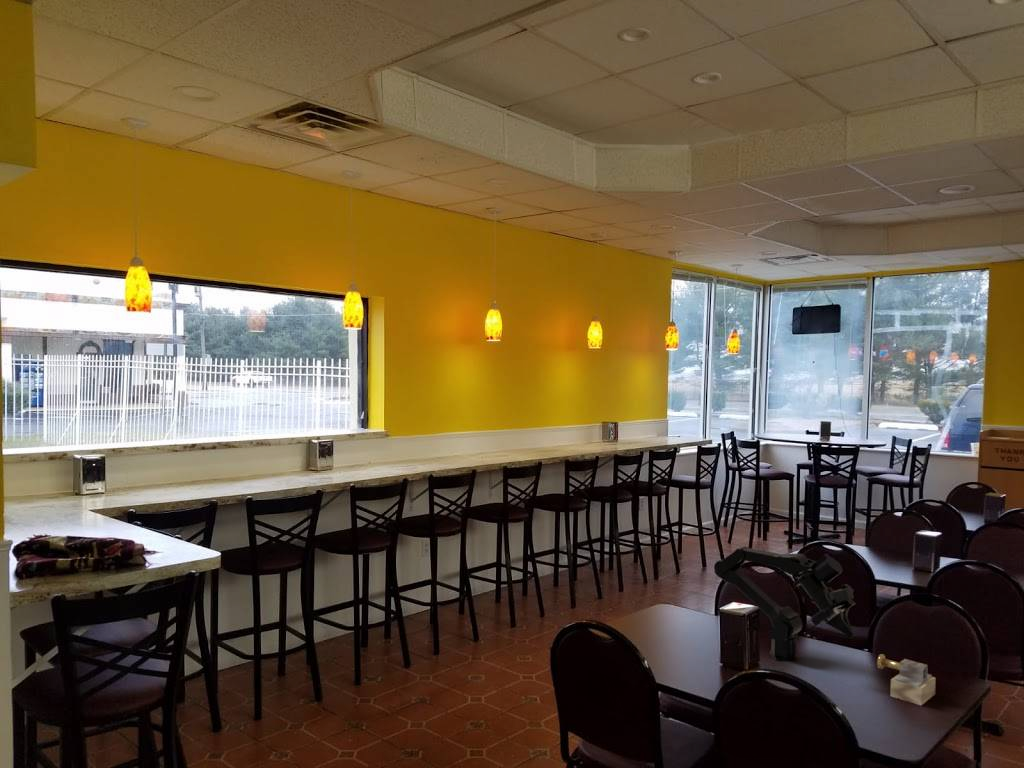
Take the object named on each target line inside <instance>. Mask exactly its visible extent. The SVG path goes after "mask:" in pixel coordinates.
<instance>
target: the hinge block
mask: <svg viewBox="0 0 1024 768" xmlns="http://www.w3.org/2000/svg"><path fill="white" fill-rule="evenodd" d="M899 663H900V670H899V673H898V674H897V675H895V676H894V677H892V678H891V679H890V697H892V698H894V699H898V698H899V700H902V701H905V702H908V703H911V704H915V705H918V706H923V705H924V704H925V703H926V702H927V701H928V700H930V699H932V697H933V696H935V695H936V677H934V676H932V674H930V673H928V666H929V665H928V664H926V663H921V662H918V661H914V660H911V659H906V658H904V659H903V660H901V661H900V662H899Z"/></svg>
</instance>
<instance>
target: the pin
mask: <svg viewBox="0 0 1024 768" xmlns="http://www.w3.org/2000/svg"><path fill="white" fill-rule="evenodd" d="M876 660H877V661H876V665H877V668H878V669H881V670H883V669H884V668H885V667H886V668H891V669H894V670H897V671H900V662H898V661H894V660H891V659H887V658H886V656H885V654H883V653H880V654H878V656H877V659H876Z"/></svg>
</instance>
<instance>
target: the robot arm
mask: <svg viewBox="0 0 1024 768" xmlns="http://www.w3.org/2000/svg"><path fill="white" fill-rule="evenodd" d="M745 562H750V563H754V564H759V565H764V566H769V567H774V568H777V569H779V570H780V571H781V572H783V573H785V574H788V575H791V576H795V577H794V578H793V580H794V581H793V587H794V588H796V587H799V586H802V588H803V590H804V591H805V592H806V594H807V595H808V596H809V598H810V599H809V602H810V603H811V604H813V603H814V604H815V606H817V608H818V609H819V611H817V612H816V613H815V614H813V615H812V616H811V620H810V621H811V623H812V624H813V625H814V626H815V627H818V626H819V625H821V623H823V622H824V621H825V620H827V621H826V622H825V625H829V626H830V627H832V628H834V629H836V630H837V631H839V632H841V633H843V634H845V635H846V636H848V637H850V638H853V637H854V636H855V633H854V630H853V628H852V624H851V623H850V620H849V618H848V615H849V614H848V613H849V610H850V608H851V607H853V606H854V605H856V602H855V600H853V599H854V598H855V595H854V594H853V593H854V591H855V589H853V588H852V586H850V585H849V584H848V583H845V584H842V585H840V588H839V589H836V590H834V589H833V588H832V587H830V586H829V587H827V586H826V585H825V583H830V582H831V581H832V580H834V579H836V577H837V576H839V575H840V574H842V573H843V567H842V565H841V563H840V562H839V561H837V560H836V559H835V558H833V557H831V556H830V555H829V554H828V553H826V554H823V555H822V556H821V557H819V559H818V560H817V561H815V560H812V559H811V558H807V556H806V555H805V554H802V553H776V552H772V551H767V550H762V549H756V548H751V547H748V546H741V547H738V548H736V549H735V550H734V551H732V553H730V554H729V555H727V556H726V557H725V558H722V559H721V560H717V561H716V562H715V563H714V566H713V568H714V574H715V576H717V577H718V578H720V579H721V580H722V581H724V582H725V583H728V584H731V585H733V586H735V587H736V588H737V589H738V590H739V591H740V592H741V593H742V594H744V595H745V596H746V597H747V598H748V599H749V600H751V602H752V603H754V605H756V607H757V608H759V609H760V610H761V611H762V612H763V613H764V614H765V615H767V617H768V619H769V620H770V623H771V625H772V627H773V628H771V629H770V630H768V632H767V634H768V636H769V639H770V640H771V644H770V645H771V646H770V647H771V649H770V650H769V654H770V655H771V656H772V657H773V658H774V659H775V660H776V661H797V658H796V655H797V643H796V642H795V641H796V640H795V638H794V637H796V636H797V635H798V633H799V632H801V630H802V629H803V621H802V619H801V617H800V616H799V615H800V614H799V613H797V612H796V611H794V609H793V608H792V607H791V606H789V605H788V606H785V607H782V606H780V605H779V604H778V603H777V602H775V601H774V600H773V599H772V597H770V596H769V595H768V594H767V593H765V592H764V591H763V590H762V588H760V587H759V586H757V584H756V583H754V582H753V581H752V580H751V579H750V578H749V576H747V575H746V573H745V572H744V569H743V567H742V566H743V565H744V564H745ZM809 571H810V573H809ZM799 574H802V575H801V576H797V575H799Z"/></svg>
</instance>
